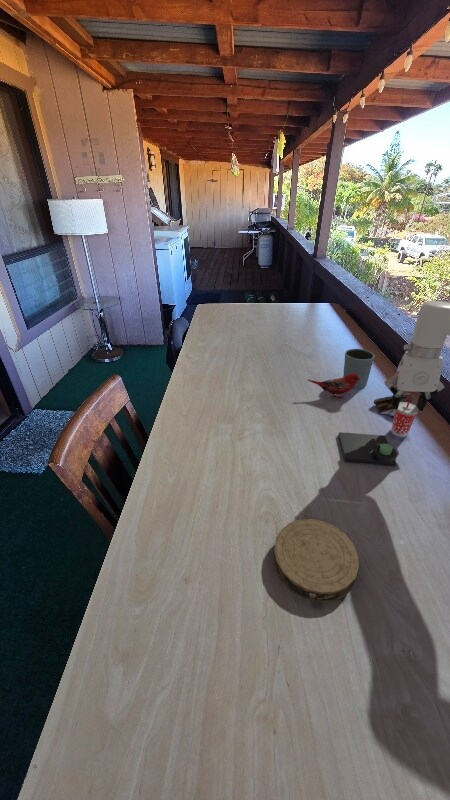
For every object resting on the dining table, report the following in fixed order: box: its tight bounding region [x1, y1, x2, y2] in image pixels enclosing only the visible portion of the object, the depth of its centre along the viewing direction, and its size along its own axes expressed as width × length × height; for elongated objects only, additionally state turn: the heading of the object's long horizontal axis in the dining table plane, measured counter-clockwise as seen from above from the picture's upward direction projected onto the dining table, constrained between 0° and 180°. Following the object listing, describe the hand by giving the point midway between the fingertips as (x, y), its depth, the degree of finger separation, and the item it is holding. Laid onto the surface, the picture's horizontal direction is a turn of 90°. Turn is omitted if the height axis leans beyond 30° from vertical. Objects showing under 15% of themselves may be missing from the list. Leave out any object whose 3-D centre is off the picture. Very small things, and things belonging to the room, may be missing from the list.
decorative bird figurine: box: [307, 373, 361, 399], centre depth 121 cm, size 3×18×10 cm, turn 78°
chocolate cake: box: [373, 391, 415, 419], centre depth 114 cm, size 10×7×12 cm
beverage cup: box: [390, 391, 420, 438], centre depth 102 cm, size 6×6×14 cm
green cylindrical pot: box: [342, 348, 376, 389], centre depth 130 cm, size 10×10×12 cm
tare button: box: [379, 443, 394, 455], centre depth 93 cm, size 3×3×2 cm
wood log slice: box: [273, 518, 360, 603], centre depth 68 cm, size 16×16×3 cm
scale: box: [337, 431, 398, 467], centre depth 97 cm, size 13×12×3 cm
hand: (407, 407), depth 101 cm, fingers closed on beverage cup, 6 cm apart
